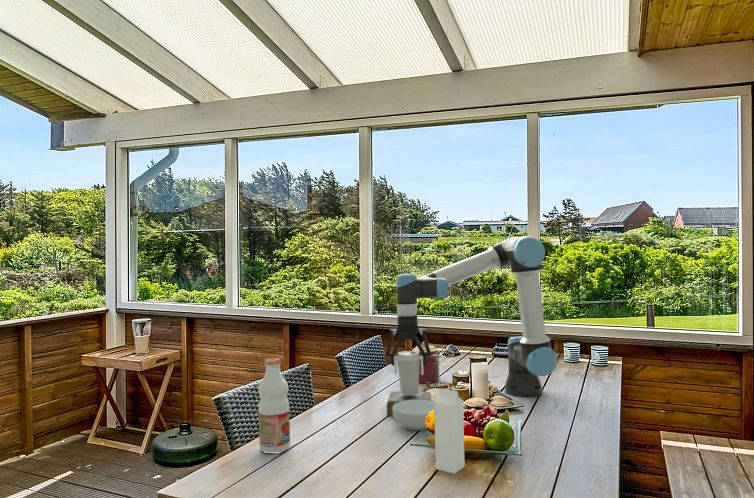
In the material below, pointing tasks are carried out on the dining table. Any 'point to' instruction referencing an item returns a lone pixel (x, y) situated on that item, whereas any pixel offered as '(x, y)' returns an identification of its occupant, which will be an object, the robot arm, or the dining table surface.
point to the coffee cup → (408, 371)
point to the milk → (449, 431)
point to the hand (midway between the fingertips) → (409, 373)
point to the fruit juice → (273, 409)
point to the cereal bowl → (412, 413)
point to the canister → (429, 365)
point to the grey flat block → (404, 399)
